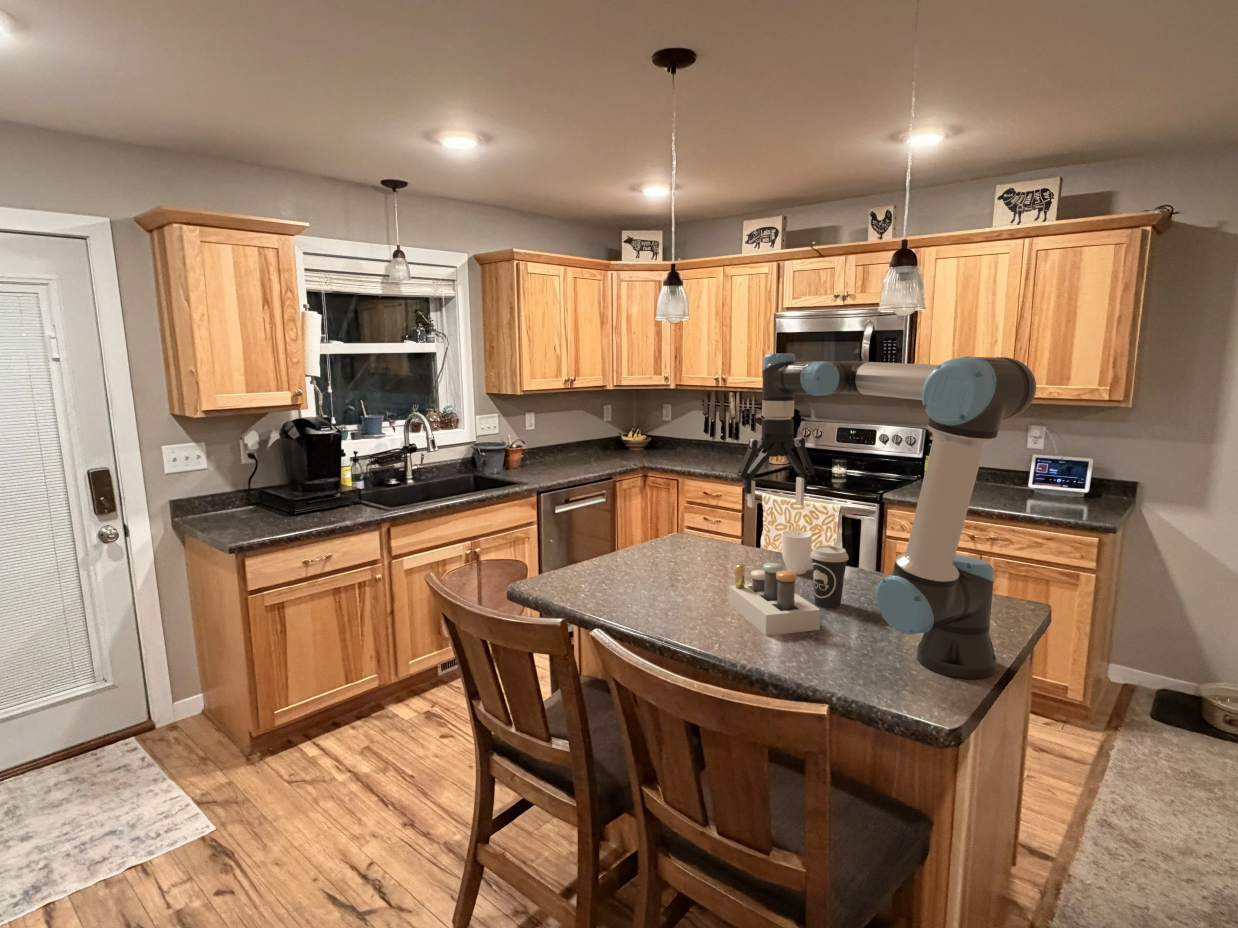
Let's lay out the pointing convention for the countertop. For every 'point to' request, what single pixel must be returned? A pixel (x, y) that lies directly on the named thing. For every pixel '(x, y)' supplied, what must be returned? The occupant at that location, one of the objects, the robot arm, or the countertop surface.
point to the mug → (796, 550)
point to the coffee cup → (828, 575)
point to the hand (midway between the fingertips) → (775, 505)
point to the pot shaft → (740, 576)
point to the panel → (774, 612)
